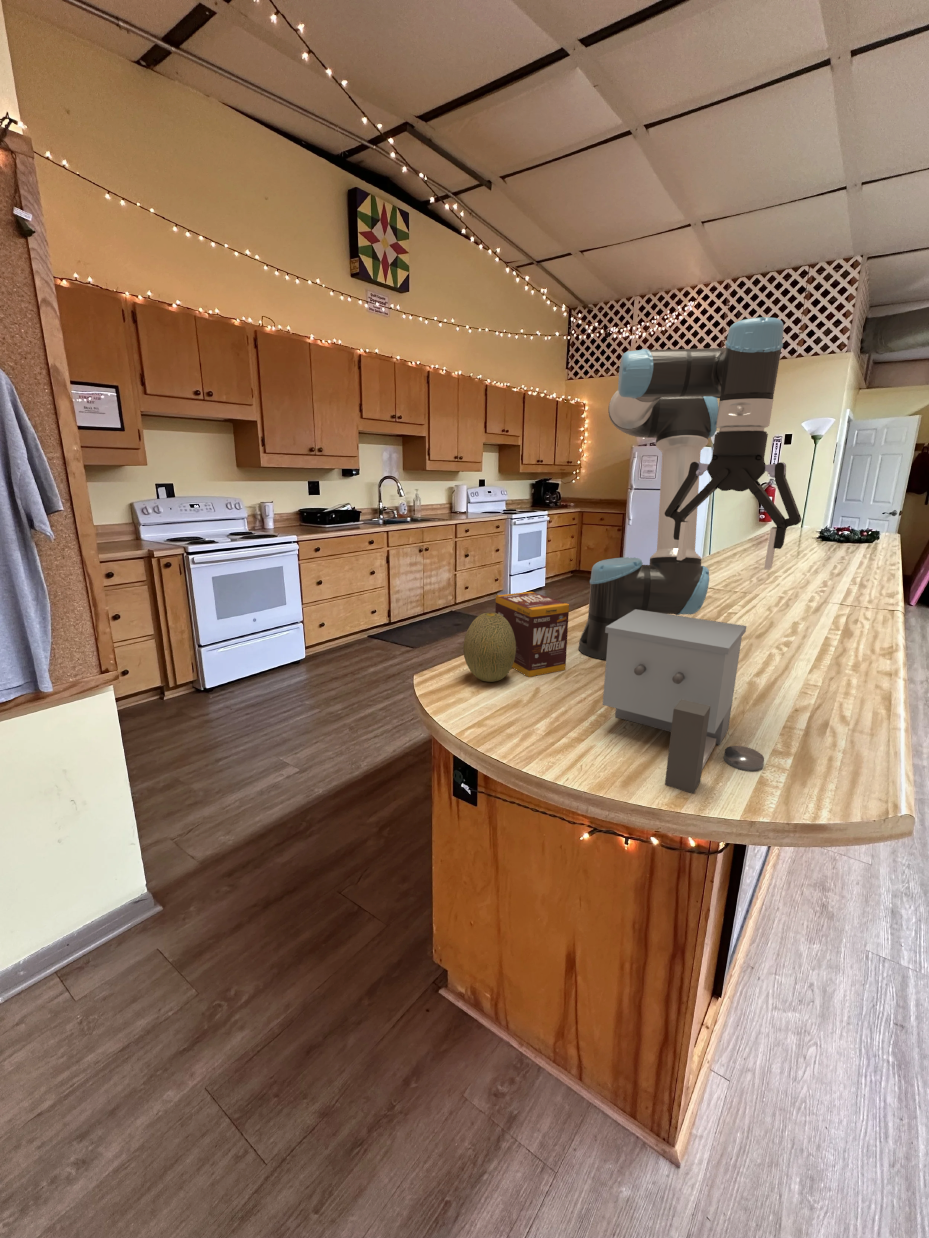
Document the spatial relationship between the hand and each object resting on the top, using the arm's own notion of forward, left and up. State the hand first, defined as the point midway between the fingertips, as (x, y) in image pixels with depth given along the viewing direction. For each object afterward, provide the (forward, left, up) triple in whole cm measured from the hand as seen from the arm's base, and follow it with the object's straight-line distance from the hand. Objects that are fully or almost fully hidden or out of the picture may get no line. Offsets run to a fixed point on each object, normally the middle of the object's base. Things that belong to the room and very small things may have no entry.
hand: (722, 563), depth 92 cm
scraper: (+3, -17, -29) cm, 34 cm away
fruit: (-42, -6, -29) cm, 52 cm away
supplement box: (-40, +8, -29) cm, 50 cm away
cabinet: (-4, -8, -29) cm, 30 cm away
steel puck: (+9, -12, -29) cm, 33 cm away
